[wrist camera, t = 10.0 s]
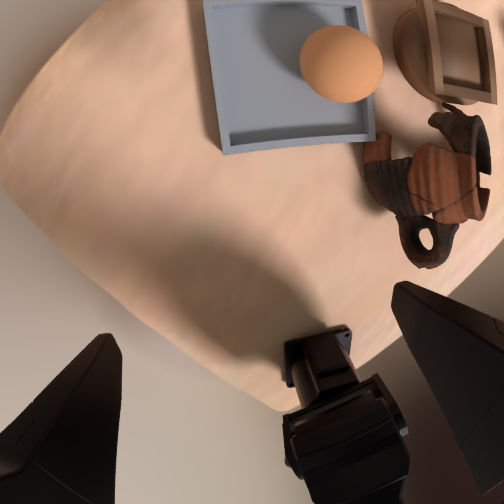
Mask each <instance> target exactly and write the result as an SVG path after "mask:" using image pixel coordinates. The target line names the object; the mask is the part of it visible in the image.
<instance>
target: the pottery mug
mask: <svg viewBox="0 0 504 504" xmlns="http://www.w3.org/2000/svg"><path fill="white" fill-rule="evenodd" d="M442 106H443V107H444V108H445V109H448V110H449V111H451V112H452V113H451V112H445V113H439V112H435V113H433V114H432V115H431V117H430V118H429V120H428V124H429V125H430V126H431V127H434V128H436V129H439V130H440V132H441V133H442V134H443V135H444V136H445V138H446V139H447V140H448V142H449V144H450V146H451V147H452V149H453V151H450V150H448V149H444V148H441V147H439V146H435V145H433V144H429V143H427V144H425V145H421V146H419V147H418V148H417V149H416V151H415V152H414V154H413V157H412V158H411V157H406V158H403V159H397V160H391V153H390V151H391V138H392V136H391V134H390V133H388V132H380V133H378V134H376V141H367V142H365V144H364V171H365V180H366V182H367V186H368V190H369V192H370V194H371V195H372V197H373V198H374V199H375V201H376V202H377V203H379V204H380V205H382V206H384V207H385V208H387V209H388V210H389V211H391V212H393V213H394V214H395V215H396V216H395V218H396V220H397V222H398V224H399V235H400V241H401V244H402V247H403V250H404V252H405V254H406V256H407V257H408V259H409V260H410V261H411V262H412V263H413V264H414V265H416V266H417V268H419V269H420V268H424V267H425V268H427V269H432V268H436V267H438V266H440V265H441V264H443V263H444V262H445V261H446V259H447V258H448V256H449V254H450V251H451V248H452V243H453V239H454V235H455V233H456V231H457V230H458V228H459V223H464V222H466V221H467V220H468V219H474V220H477V221H481V220H482V219H483V218H484V216H485V213H486V210H487V206H488V201H489V195H490V189H488V188H481V187H480V173H479V172H482V173H484V174H488V175H491V156H490V146H489V141H488V137H487V133H486V129H485V125H484V123H483V121H482V119H481V117H480V116H478V115H475V116H467V115H466V114H464V113H463V112H462V111H461V110H459V109H457V108H456V107H454V106H453V105H450V104H447V103H445V102H443V103H442ZM430 213H432V216H433V219H431V218H429V217H427V216H425V215H427V214H430ZM424 214H425V215H424ZM425 228H428V229H429V230H430V233H431V235H432V237H433V247H432V249H431V250H427V249H426V248H425V247H424V246H423V244H422V243H421V241H420V238H419V232H420V230H422V229H425Z"/></svg>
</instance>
